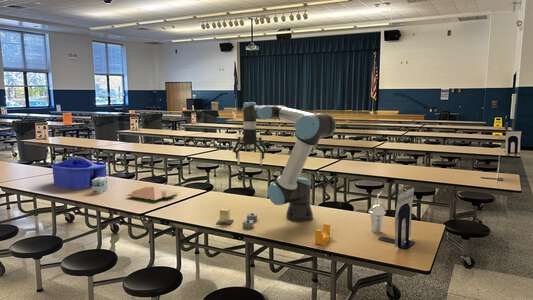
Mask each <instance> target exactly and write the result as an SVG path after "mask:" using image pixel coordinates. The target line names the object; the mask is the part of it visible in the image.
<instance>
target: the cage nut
mask: <svg viewBox="0 0 533 300" xmlns="http://www.w3.org/2000/svg"><path fill="white" fill-rule="evenodd" d="M219 219H220V223H229V221H230V220H231V208H230V207H228V208H227V207H221V208H220V209H219Z"/></svg>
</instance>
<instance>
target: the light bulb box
mask: <svg viewBox="0 0 533 300" xmlns="http://www.w3.org/2000/svg"><path fill="white" fill-rule="evenodd" d="M91 188H92V190H91V191H92V194H98V195H99V194H103V193H105V192H107V191H108V189H109V187H108V177H107V176H106V177H98V178H95V179H93V180H92V186H91Z"/></svg>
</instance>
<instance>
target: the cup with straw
mask: <svg viewBox="0 0 533 300" xmlns="http://www.w3.org/2000/svg"><path fill="white" fill-rule="evenodd" d="M382 193H383V190H381V191H380V192H379V193H378V194H377V196H376V204H373V205H372V206H371V207H370V208H369V209H368V214H369V217H370V224H371V225H370V227H371V232H372V233H375V234H377V233H381V232H382V227H383V221H384V217H385V215H386V214H387V212H386V210H385V209H384V207H383V206H382V205H381V204H379V197H380V195H381V194H382Z"/></svg>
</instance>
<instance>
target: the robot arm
mask: <svg viewBox="0 0 533 300" xmlns="http://www.w3.org/2000/svg"><path fill="white" fill-rule="evenodd" d="M242 119H243V124H242V125H243V126H242V127H243V133H242V134H243V137H242V136H238V138H237V141H236V144H234V145H235V146H234V147H233V150H232V153H235V158H236V160H237V165H240V163H241V161H240V160H241V159H240V157H241V155H240V152H241V150H242V149H243V147H245V145H252V146H253V145H254V146H255V147H256V149H258V151H259V152H260V154H259V155H260V156H259V157H260V160H259V161H260V166H262V165H263V160H265V154H267V153H268V150H267V147H266V146H265V144H264V142H263V139H262V138H263V137H262V136H257V129H256V128H257V120H270V119H273V120H274V119H276V120H280V121H285V122H288V123H292V124H294V129H295V130H294V132H295V138H296V141H295V144H294V146H293V148H292V150H291V152H290V156H289V157H288V160H287V162H286V164H285V166H284V169H283V171H282V173H281V175H279V176H277V177H276V180H275V182H274V183H271V184H269V186H268V187H267V194H268V198H269V200H270V202H271V203H272V204H273V205H275V206H283V205H286V204H289V205H288V207H287V210H286V214H285V216H286V219H287V220H290V221H293V222H308V221H311V220H313V218H314V214H313V210H312V206H311V180H310V179H309V178H307V177H300V175H301V173H302V171H303V168H304V167H305V164H306V162H307V160H308V157H309V156H310V154H311V151H312V149H313V147H316V146H317V145H318V144H319V142H320V140H321V138H326V137H330V136H331V135H333V133H334V132H335V131H336V127H337V123H336V120H335V118H334V117H333V116H332V115H330V114H328V113H320V112H318V113H312V112H308V111H303V110H299V109H295V108H289V107H287V106H286V105H257V103H256V102H255V101H254V102H253V101H248V102H247V101H246V102H243V105H242ZM242 140H243V143H242V144H241V145H240V147H239V144H240V143H241V141H242ZM257 141H258V142H259V143H257ZM259 144H260V145H261V146H260V145H259ZM238 147H239V148H238ZM261 147H262V148H261Z"/></svg>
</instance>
